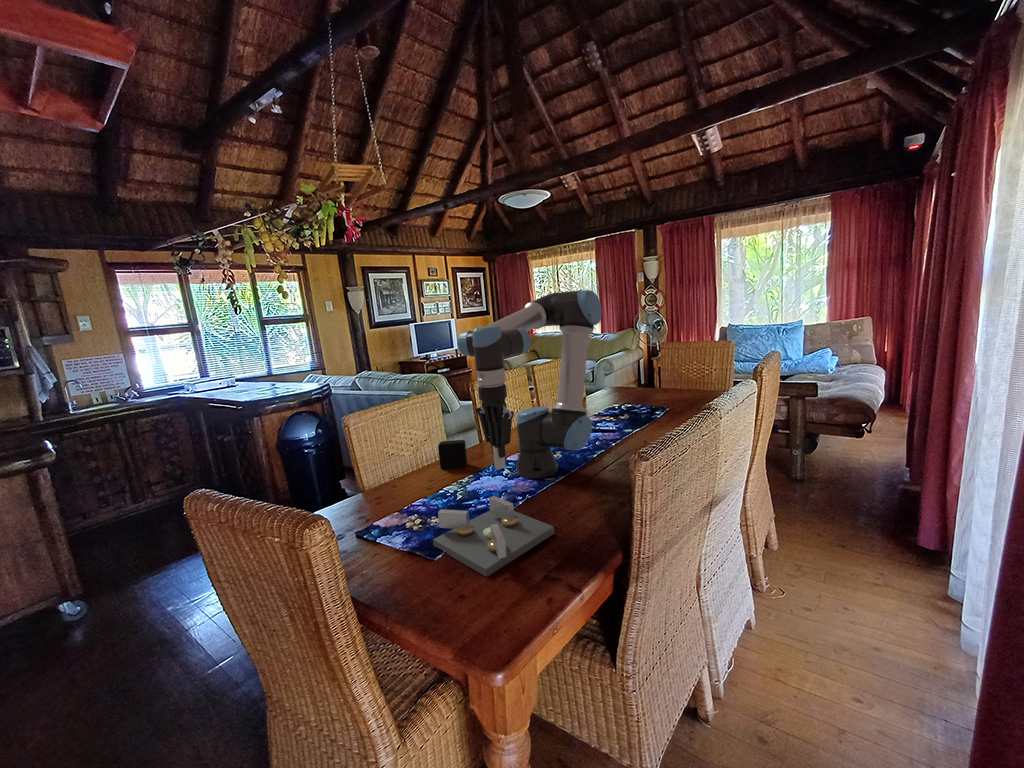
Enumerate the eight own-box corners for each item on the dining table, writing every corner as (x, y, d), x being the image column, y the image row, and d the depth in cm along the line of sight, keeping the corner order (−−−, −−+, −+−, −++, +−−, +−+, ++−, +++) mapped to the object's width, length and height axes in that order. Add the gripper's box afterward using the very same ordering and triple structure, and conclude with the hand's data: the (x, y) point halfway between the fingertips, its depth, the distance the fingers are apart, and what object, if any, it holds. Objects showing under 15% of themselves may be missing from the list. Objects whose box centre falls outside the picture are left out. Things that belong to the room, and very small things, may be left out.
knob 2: (521, 522, 121) (519, 502, 120) (509, 528, 118) (507, 509, 117) (498, 512, 128) (497, 494, 127) (487, 518, 125) (485, 499, 124)
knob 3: (486, 544, 111) (484, 523, 110) (503, 540, 112) (501, 520, 111) (494, 564, 102) (491, 542, 101) (512, 560, 103) (510, 538, 102)
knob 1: (476, 528, 120) (474, 508, 119) (470, 536, 116) (468, 516, 115) (444, 526, 122) (442, 507, 121) (438, 534, 118) (435, 514, 117)
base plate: (500, 511, 133) (499, 501, 132) (554, 533, 118) (553, 522, 117) (433, 546, 117) (432, 535, 116) (486, 577, 102) (485, 564, 101)
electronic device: (466, 467, 171) (463, 442, 169) (440, 469, 172) (437, 444, 170) (467, 463, 175) (465, 439, 174) (442, 465, 176) (439, 441, 174)
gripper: (465, 385, 121) (474, 467, 126) (498, 389, 112) (506, 477, 116) (486, 380, 126) (494, 458, 131) (518, 383, 117) (526, 468, 121)
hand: (500, 467), depth 124 cm, fingers closed
